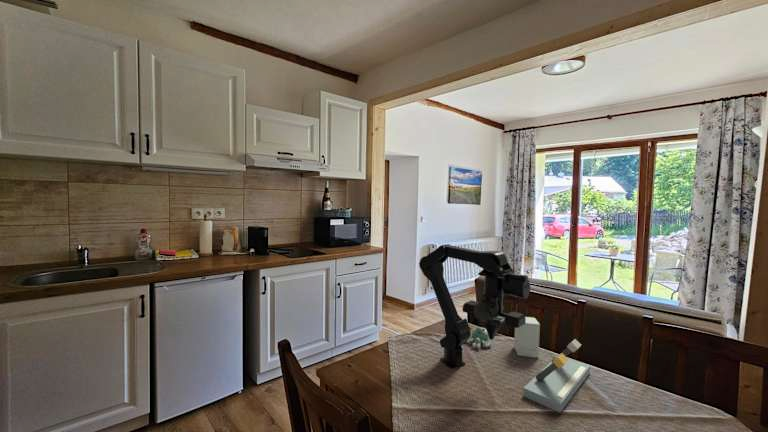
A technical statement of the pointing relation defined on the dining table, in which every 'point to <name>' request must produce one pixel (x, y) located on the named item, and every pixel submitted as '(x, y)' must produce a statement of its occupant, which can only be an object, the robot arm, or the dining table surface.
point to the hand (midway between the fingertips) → (491, 339)
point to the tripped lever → (552, 367)
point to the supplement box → (527, 338)
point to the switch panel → (557, 385)
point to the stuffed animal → (479, 338)
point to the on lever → (571, 348)
